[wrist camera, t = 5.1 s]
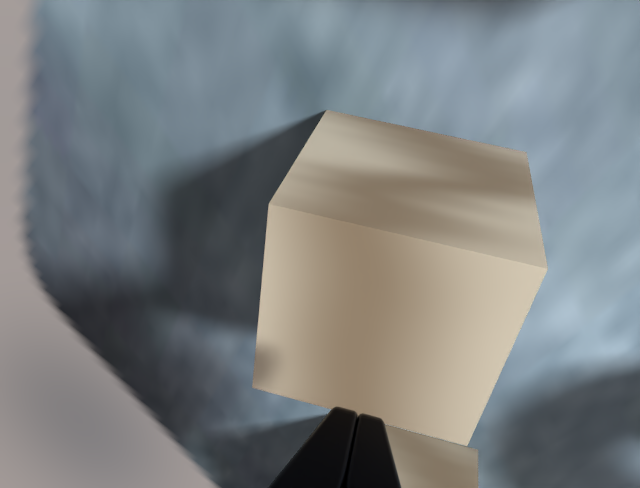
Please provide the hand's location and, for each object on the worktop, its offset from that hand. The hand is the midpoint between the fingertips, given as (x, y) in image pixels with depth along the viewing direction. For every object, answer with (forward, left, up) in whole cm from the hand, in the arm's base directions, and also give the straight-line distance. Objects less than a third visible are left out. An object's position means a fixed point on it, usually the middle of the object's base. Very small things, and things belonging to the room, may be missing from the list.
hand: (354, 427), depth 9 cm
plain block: (0, 0, -7) cm, 7 cm away
